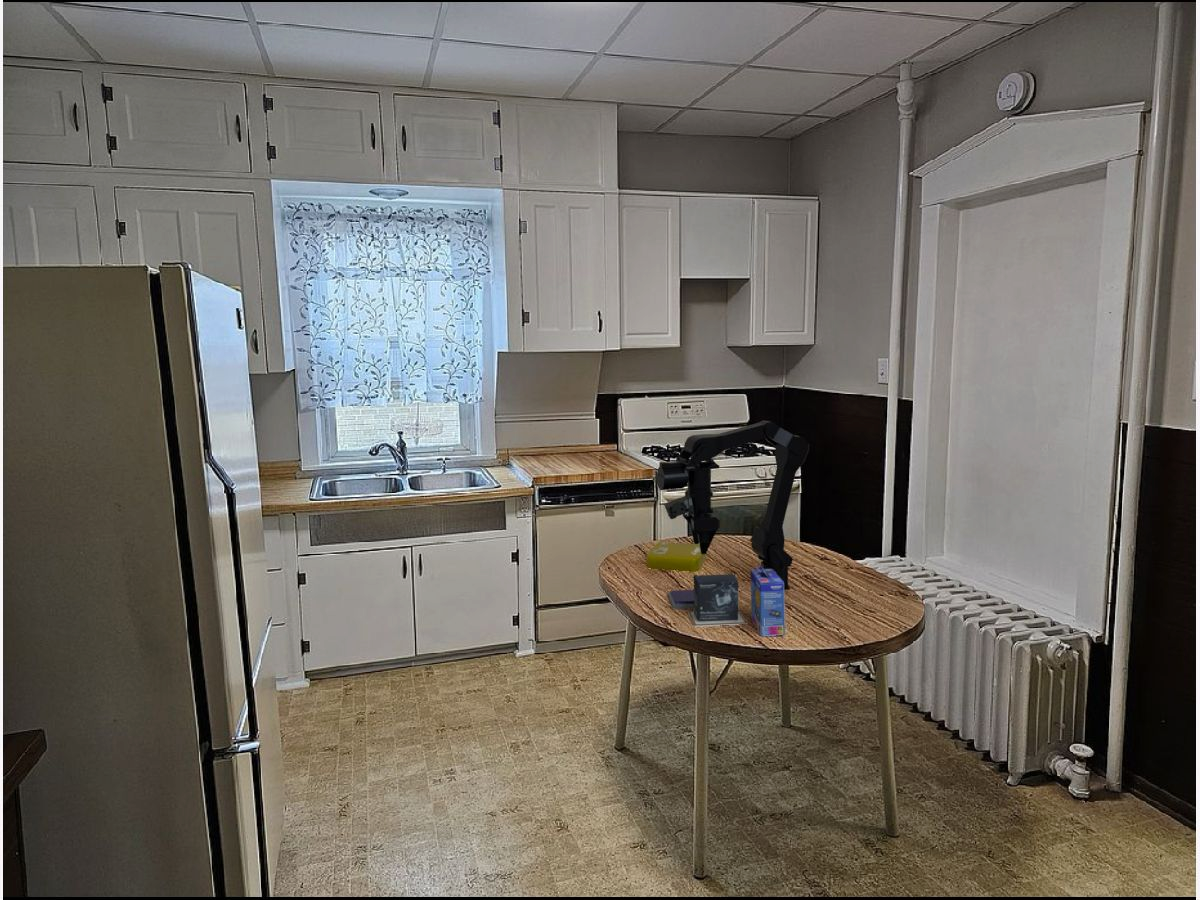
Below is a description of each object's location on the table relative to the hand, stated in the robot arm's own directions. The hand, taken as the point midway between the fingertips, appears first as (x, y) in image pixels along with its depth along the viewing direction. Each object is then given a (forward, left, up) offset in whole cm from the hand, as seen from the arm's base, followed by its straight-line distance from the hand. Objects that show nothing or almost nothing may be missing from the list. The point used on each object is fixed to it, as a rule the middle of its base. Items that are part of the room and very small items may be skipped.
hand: (699, 548), depth 187 cm
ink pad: (+4, +5, -12) cm, 13 cm away
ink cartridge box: (-11, +23, -12) cm, 28 cm away
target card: (-1, +16, -12) cm, 20 cm away
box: (-1, +16, -12) cm, 20 cm away
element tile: (+2, -28, -13) cm, 31 cm away
